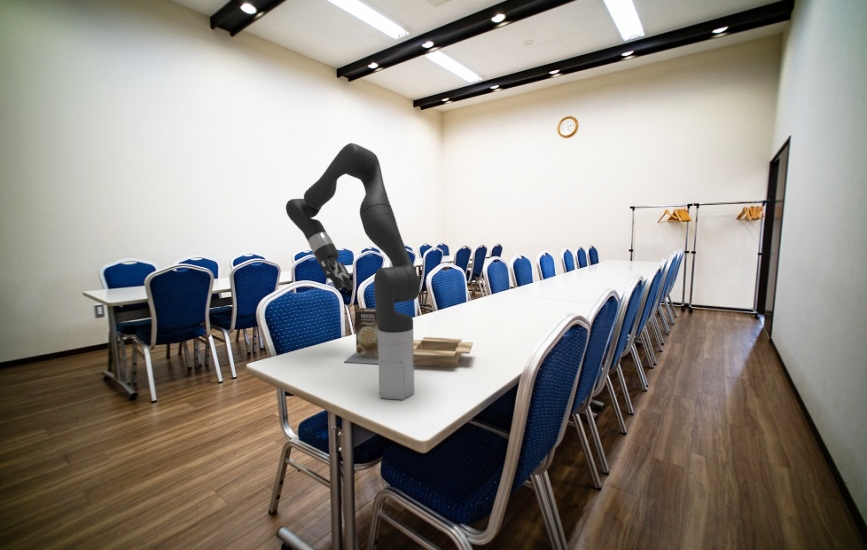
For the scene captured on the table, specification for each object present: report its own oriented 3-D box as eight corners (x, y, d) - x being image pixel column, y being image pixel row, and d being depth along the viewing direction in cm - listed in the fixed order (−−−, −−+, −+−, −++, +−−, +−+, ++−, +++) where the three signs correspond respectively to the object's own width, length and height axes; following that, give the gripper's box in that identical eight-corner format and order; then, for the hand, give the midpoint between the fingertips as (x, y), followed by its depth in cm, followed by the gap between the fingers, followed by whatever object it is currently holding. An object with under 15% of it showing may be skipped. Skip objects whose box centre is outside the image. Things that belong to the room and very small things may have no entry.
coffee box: (355, 358, 125) (353, 311, 123) (361, 352, 131) (360, 307, 130) (381, 358, 124) (380, 311, 122) (386, 353, 130) (385, 308, 129)
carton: (468, 372, 111) (468, 356, 111) (397, 368, 116) (397, 352, 115) (473, 353, 130) (473, 339, 130) (412, 350, 134) (412, 336, 134)
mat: (384, 365, 119) (384, 364, 119) (344, 362, 121) (344, 361, 121) (398, 351, 133) (398, 350, 133) (361, 349, 136) (361, 348, 136)
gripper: (322, 239, 120) (346, 282, 117) (341, 245, 134) (362, 283, 131) (303, 251, 121) (326, 294, 118) (324, 256, 135) (345, 294, 132)
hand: (345, 288), depth 125 cm, fingers open, 8 cm apart
